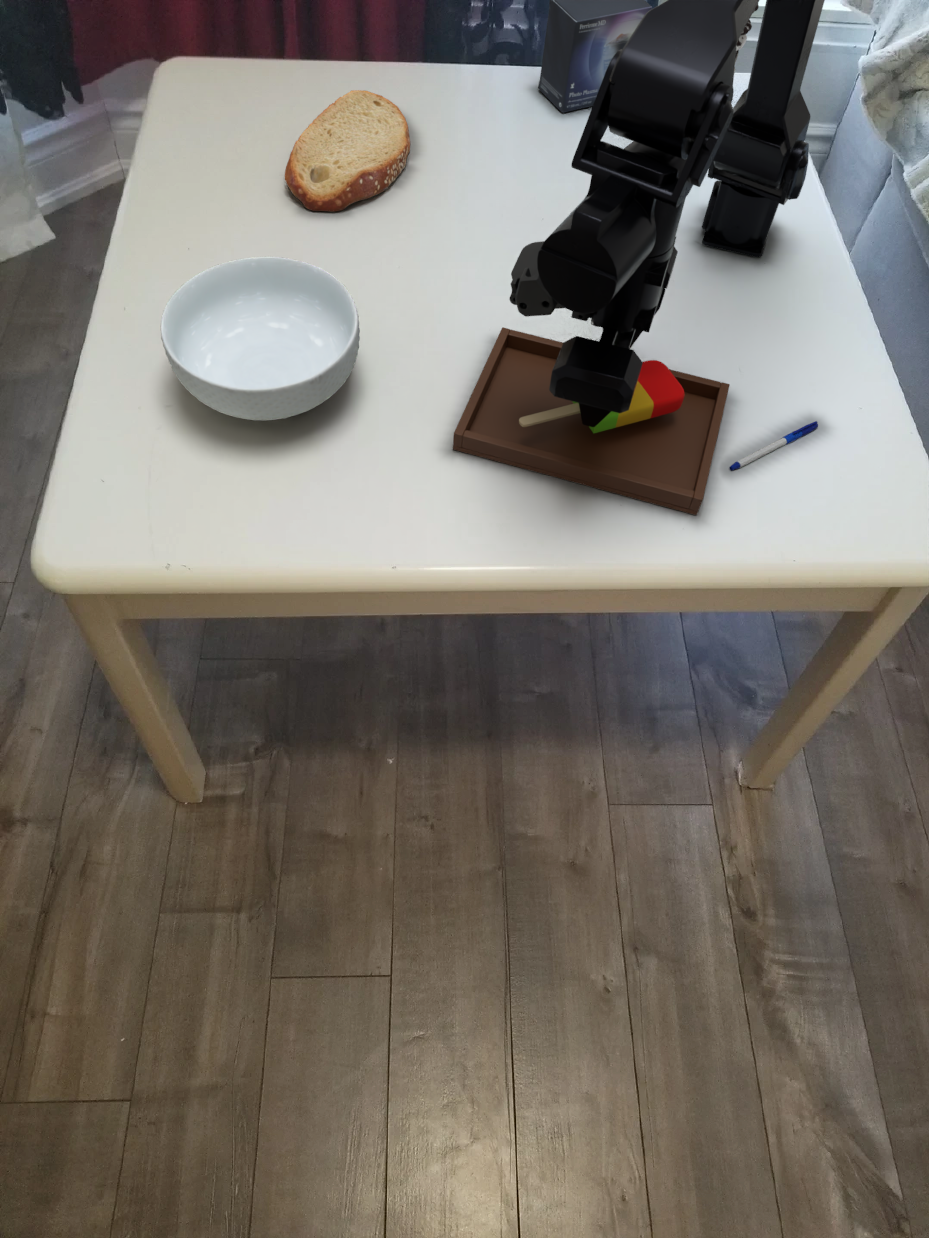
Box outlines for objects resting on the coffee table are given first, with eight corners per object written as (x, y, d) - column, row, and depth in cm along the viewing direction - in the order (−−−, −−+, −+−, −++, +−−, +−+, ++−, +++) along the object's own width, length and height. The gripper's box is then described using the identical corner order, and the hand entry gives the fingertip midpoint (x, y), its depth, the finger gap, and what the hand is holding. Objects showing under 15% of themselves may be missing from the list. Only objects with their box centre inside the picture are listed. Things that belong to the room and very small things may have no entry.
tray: (723, 400, 84) (729, 384, 83) (696, 515, 77) (702, 500, 75) (500, 344, 87) (502, 327, 86) (452, 449, 80) (453, 433, 78)
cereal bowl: (159, 341, 85) (140, 276, 79) (330, 304, 89) (324, 239, 83) (201, 469, 77) (183, 407, 71) (388, 422, 81) (386, 360, 75)
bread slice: (379, 101, 110) (378, 68, 107) (456, 177, 102) (457, 145, 99) (240, 137, 104) (235, 104, 101) (310, 222, 96) (306, 189, 93)
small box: (562, 116, 110) (575, 21, 101) (536, 90, 113) (546, -5, 104) (636, 98, 113) (654, 4, 104) (607, 73, 116) (623, -20, 107)
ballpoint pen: (810, 423, 84) (814, 415, 83) (817, 429, 83) (821, 421, 82) (727, 469, 80) (730, 461, 79) (734, 475, 80) (737, 468, 79)
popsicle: (686, 411, 81) (691, 395, 79) (532, 452, 77) (534, 436, 75) (656, 371, 83) (660, 355, 82) (505, 409, 80) (507, 392, 78)
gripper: (560, 144, 72) (538, 307, 85) (491, 286, 62) (478, 446, 75) (699, 174, 71) (654, 336, 84) (651, 325, 61) (609, 481, 74)
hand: (598, 395), depth 79 cm, fingers closed on popsicle, 7 cm apart
